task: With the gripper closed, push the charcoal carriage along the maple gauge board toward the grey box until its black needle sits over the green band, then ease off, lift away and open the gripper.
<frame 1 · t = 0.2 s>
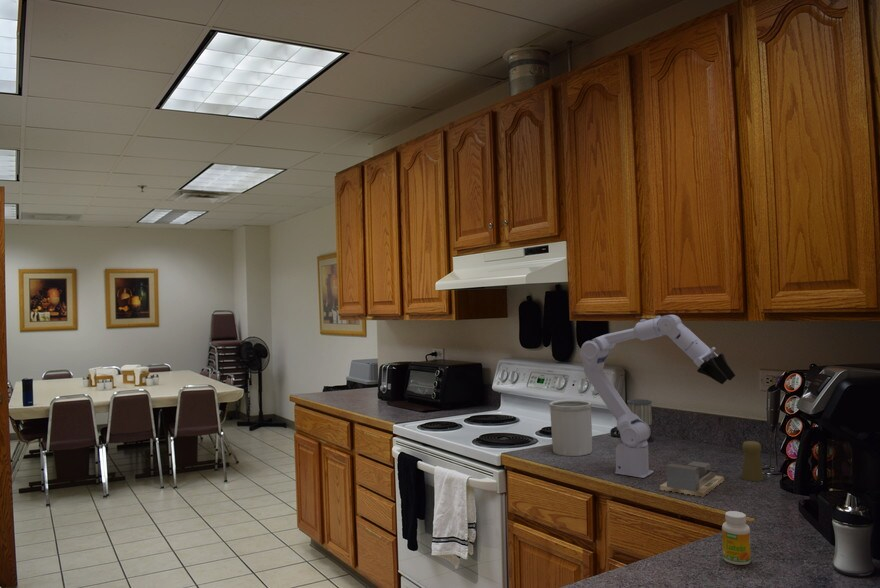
hand: (728, 379, 187), 31 cm above the worktop, tool tilted 45°, fingers open, 7 cm apart
utensil holder: (571, 452, 234), on the worktop
grey box: (682, 477, 184), point 4 cm above the worktop
gauge carriage: (703, 470, 194), point 3 cm above the worktop, slide at 0.0 cm
cork: (752, 479, 196), on the worktop
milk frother: (631, 438, 252), on the worktop
supplement bottle: (736, 561, 138), on the worktop
gauge board: (692, 485, 191), on the worktop
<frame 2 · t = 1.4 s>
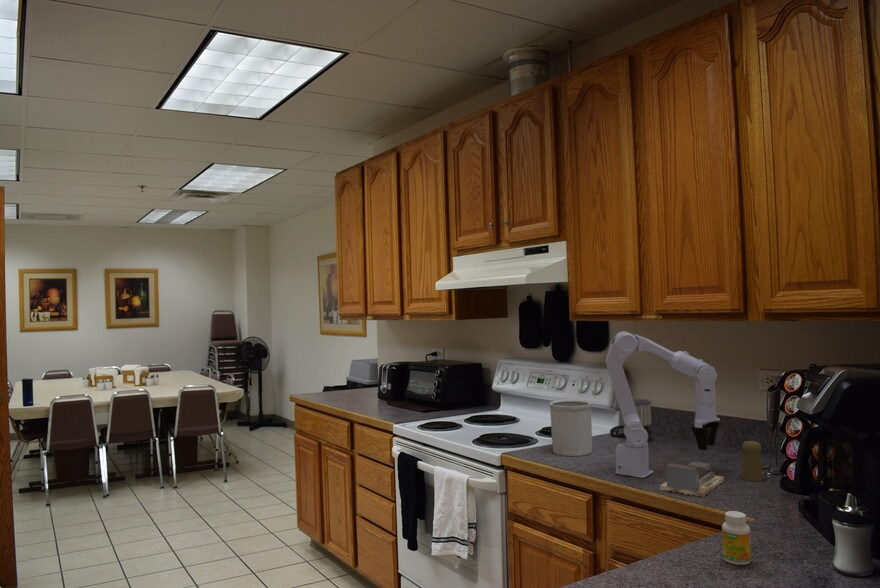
hand: (706, 447, 201), 8 cm above the worktop, tool pointing down, fingers open, 6 cm apart
nothing on the worktop moved.
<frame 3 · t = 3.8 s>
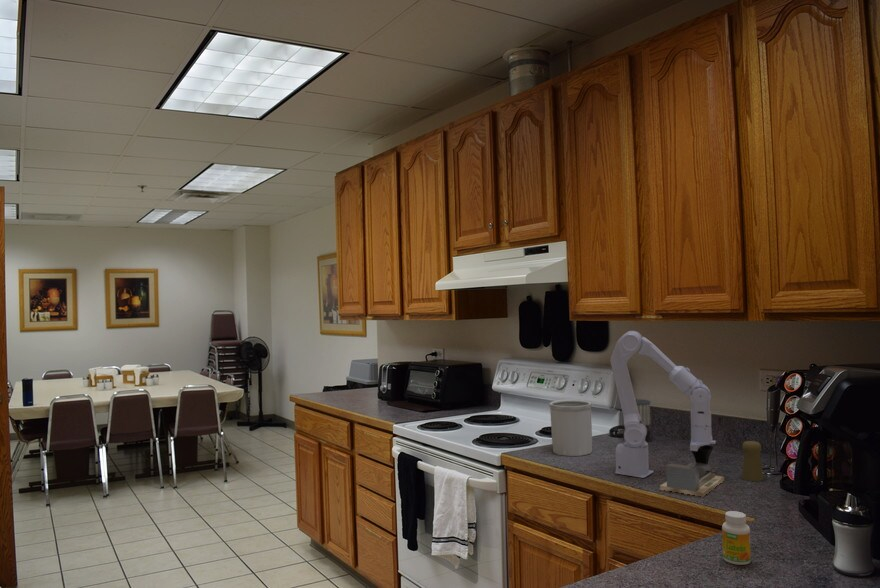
hand: (702, 470, 197), 2 cm above the worktop, tool pointing down, fingers closed
gauge carriage: (702, 471, 193), point 3 cm above the worktop, slide at 0.8 cm, touching gripper
everything else where it was.
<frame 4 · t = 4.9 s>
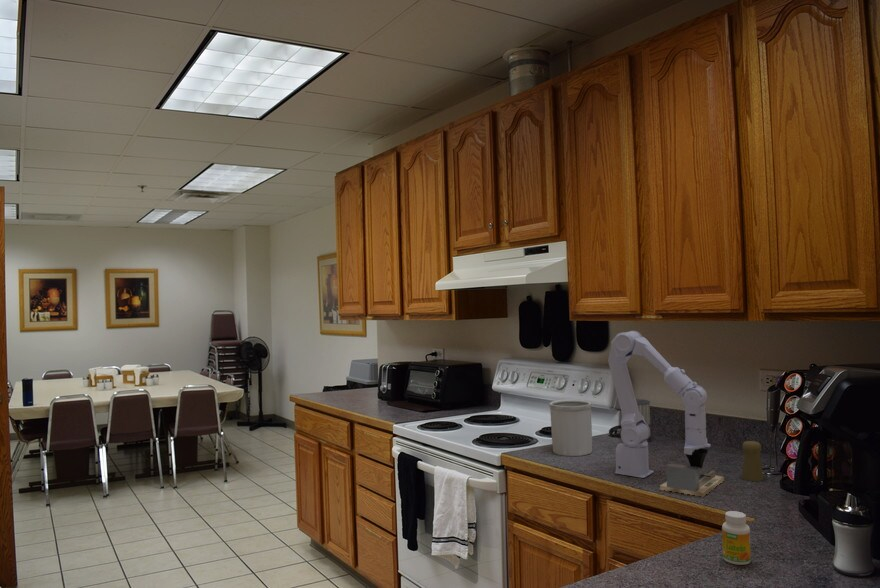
hand: (696, 474, 193), 2 cm above the worktop, tool pointing down, fingers closed
gauge carriage: (696, 475, 190), point 3 cm above the worktop, slide at 5.8 cm, touching gripper
everything else where it was.
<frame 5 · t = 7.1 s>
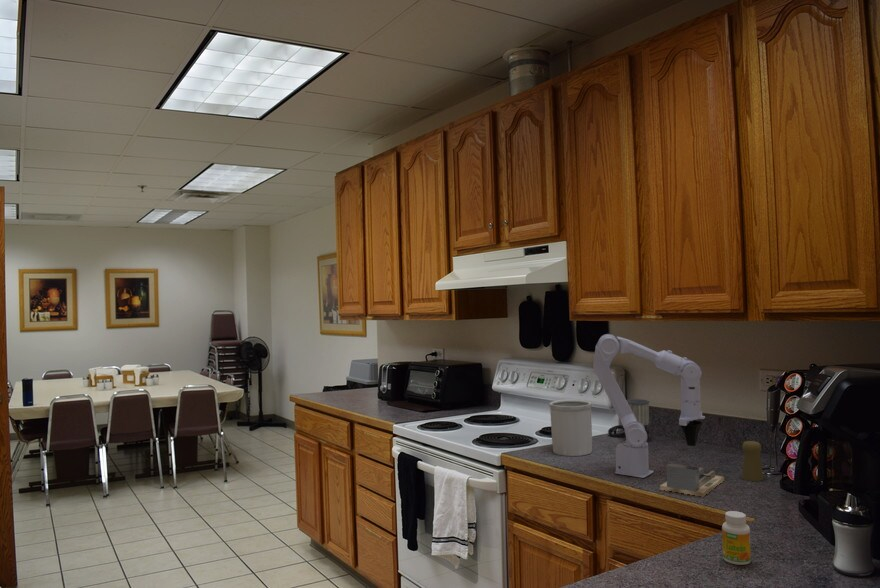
hand: (691, 445, 200), 9 cm above the worktop, tool pointing down, fingers closed
gauge carriage: (696, 475, 190), point 3 cm above the worktop, slide at 5.8 cm
everything else where it was.
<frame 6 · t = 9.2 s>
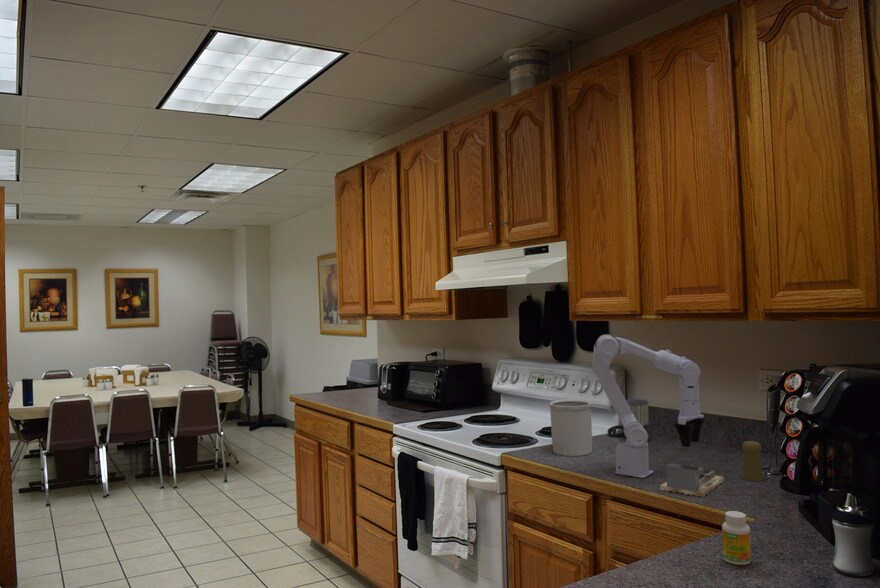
hand: (690, 444, 201), 9 cm above the worktop, tool pointing down, fingers open, 7 cm apart
at the end: gauge carriage slide at 5.8 cm; cork moved 0.2 cm from its start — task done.
